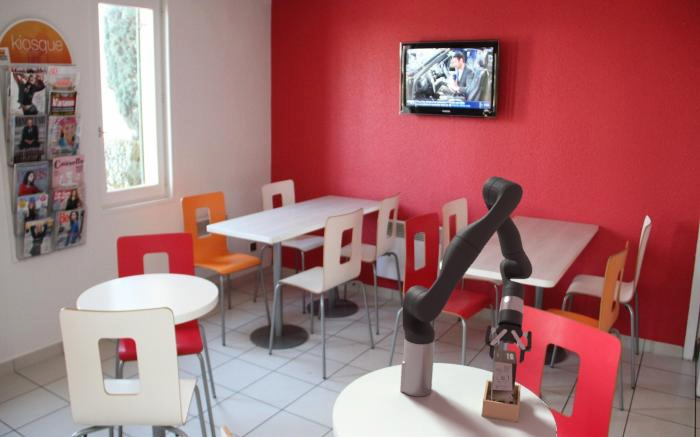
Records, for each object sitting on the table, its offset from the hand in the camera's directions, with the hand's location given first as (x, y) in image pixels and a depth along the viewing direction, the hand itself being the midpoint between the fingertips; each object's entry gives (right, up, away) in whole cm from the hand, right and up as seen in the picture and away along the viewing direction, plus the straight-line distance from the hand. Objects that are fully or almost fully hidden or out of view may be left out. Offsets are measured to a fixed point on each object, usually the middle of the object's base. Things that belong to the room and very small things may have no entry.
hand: (506, 360), depth 196 cm
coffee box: (-4, -12, -8) cm, 15 cm away
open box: (-4, -12, -8) cm, 15 cm away
